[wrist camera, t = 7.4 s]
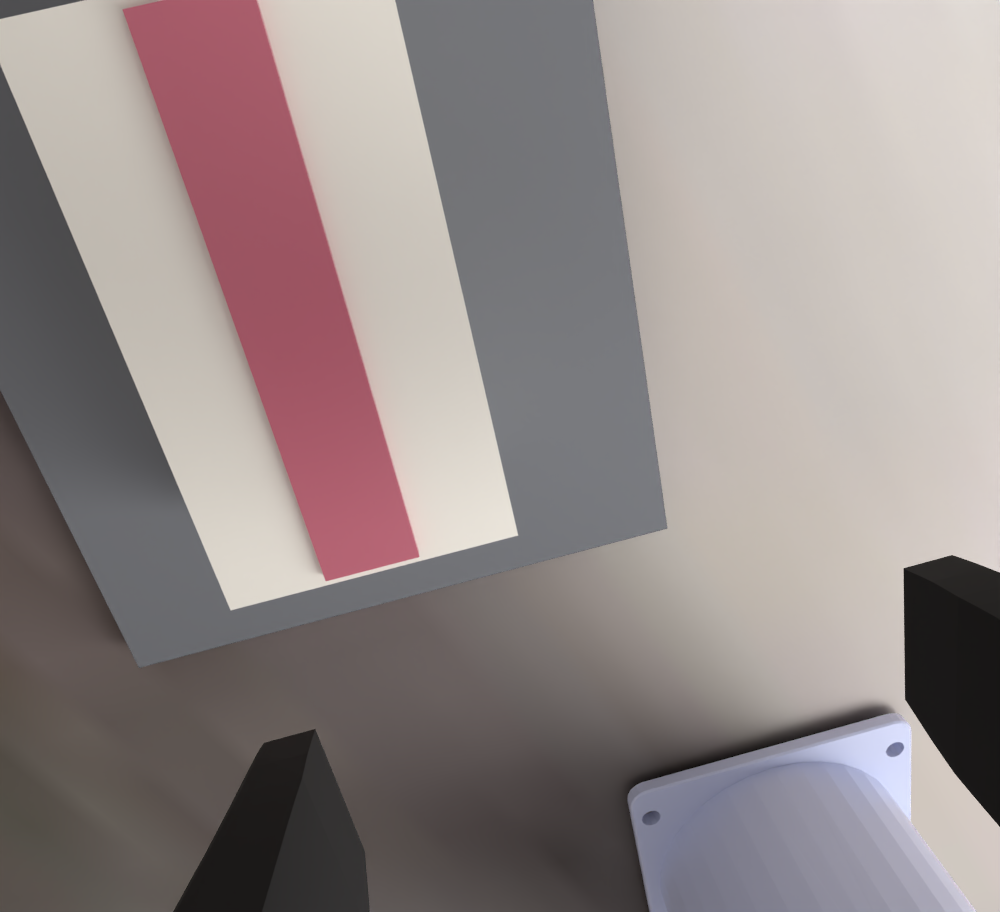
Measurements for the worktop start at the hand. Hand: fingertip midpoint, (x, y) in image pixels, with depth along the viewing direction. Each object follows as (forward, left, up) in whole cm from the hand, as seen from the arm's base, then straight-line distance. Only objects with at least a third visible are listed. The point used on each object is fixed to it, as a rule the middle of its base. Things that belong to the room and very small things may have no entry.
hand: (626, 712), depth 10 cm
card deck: (+4, +3, -8) cm, 10 cm away
